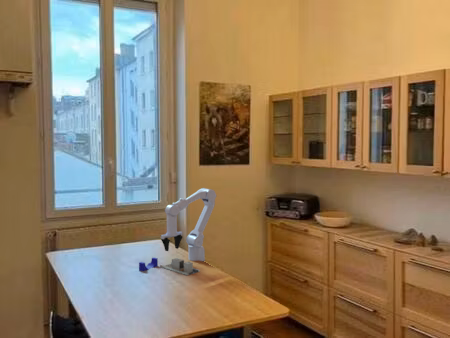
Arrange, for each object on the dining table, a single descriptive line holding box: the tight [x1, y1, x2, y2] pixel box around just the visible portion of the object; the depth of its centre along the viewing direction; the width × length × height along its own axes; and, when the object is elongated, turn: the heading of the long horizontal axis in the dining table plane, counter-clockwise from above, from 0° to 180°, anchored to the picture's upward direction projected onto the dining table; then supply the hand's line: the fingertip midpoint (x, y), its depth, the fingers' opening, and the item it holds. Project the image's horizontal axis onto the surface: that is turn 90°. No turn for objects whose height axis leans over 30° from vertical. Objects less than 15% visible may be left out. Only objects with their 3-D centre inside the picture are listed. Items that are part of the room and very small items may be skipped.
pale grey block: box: [171, 257, 185, 270], centre depth 255 cm, size 4×6×5 cm, turn 48°
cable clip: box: [138, 257, 159, 272], centre depth 257 cm, size 12×4×6 cm, turn 149°
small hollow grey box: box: [184, 261, 194, 273], centre depth 250 cm, size 4×3×5 cm
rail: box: [159, 261, 201, 277], centre depth 255 cm, size 10×22×2 cm, turn 48°
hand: (171, 249), depth 266 cm, fingers open, 7 cm apart
